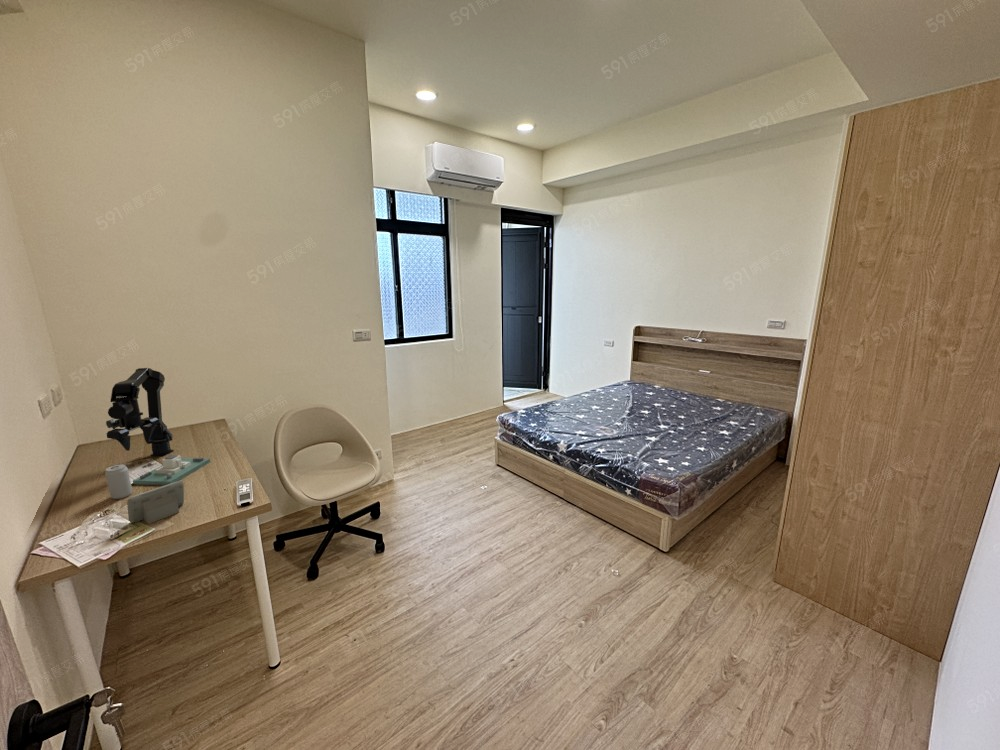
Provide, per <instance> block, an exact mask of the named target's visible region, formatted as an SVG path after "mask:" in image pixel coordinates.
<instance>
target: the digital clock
mask: <svg viewBox="0 0 1000 750" xmlns="http://www.w3.org/2000/svg"><path fill="white" fill-rule="evenodd" d="M126 501H127V503H126V505H127V515H128V522H129V521H130V522H129V523H131V522H135V523H137V521H138V522H140V520H141V521H145V522H146V521H147V522H148V523H150V524H153V523H155V521H156V522H158V521H160V519H161V520H162V519H165V518H168V517H171V516H173V515H175V514H178V513H180V510H179V507H180V506H182V505H183V504H184V502H185V482H184V481H183V480H179V481H177V482H174V483H171V484H168V485H161V486H159V487H156V488H153V489H151V490H147V491H145V492H142V493H137V494H136V495H133V496H130V497H129V498H128V499H127V500H126ZM143 519H144V520H143ZM157 520H158V521H157ZM147 522H146V523H147ZM152 522H153V523H152ZM148 523H147V524H148Z"/></svg>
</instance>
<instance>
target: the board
mask: <svg viewBox="0 0 1000 750" xmlns="http://www.w3.org/2000/svg"><path fill="white" fill-rule="evenodd" d="M181 460H182V466H183V468H182V469H180V467H178V468H176V469H164V467H163V464H162V465H160V466H158V467H156V468H155V469H153V470H151V471H148V472H145V473H144V474H141V475H140V476H139V477H137V478H135V479H133V480H132V484H133V485H143V486H145V485H151V486H153V485H156V486H159V485H160V486H165V485H168V484H171V483H174V482H177V481H182V479H184V478H186V477H187V476H189V475H190V474H192V473H194V472H196V471H197V470H199V469H201V468H203V467H204V466H206V465H207V464H210V463H211V458H204V457H191V458H190V457H189V458H188V457H181Z"/></svg>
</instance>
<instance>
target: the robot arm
mask: <svg viewBox="0 0 1000 750" xmlns="http://www.w3.org/2000/svg"><path fill="white" fill-rule="evenodd" d="M165 380H166V378H165V375H164V374H163V373H162V372H161V371H157V370H154V369H152V368H149V367H140V368H139V367H138V368H136V369H135V371H134V372H133V373H132V374H131V375H130V376H129V377H128V378H126V380H122V381H119V382H116V383H115V384H114V385H113V387H112V390H111V395H110V403H112V406H110V407H109V409H108V410H107V415H108V416H109V417H110V418H111V419H109V420H106V421H105V425H106V427H107V428H108V429H111V428H112V429H111V430H108V431H107V433H106V438H107V439H111V440H116V441H118V442H119V443H120V444H121V446H122V447H123V448H124V450H125V451H130V448H131V435H130V432H131V431H134V430H136V429H140V430H141V431H142V432H143V433H142V435H143V438H144V441H145V443H146V444H147V445H151V451H152V453H151V454H150V456H152V457H164V456H166V455H169V454H170V453H172V452H174V451H175V450H174V449H172V448H171V444H170V442H171V441H173V438H174V437H173V433H171V432H170V430H168V426H167V425H166V424H165V422H164V421H163V415H162V401H161V390H162V389H163V388H164V386H165V384H164V383H165ZM140 386H141V387H142V389H144V391H145V392H146V398H147V399H146V400H147V409H148V410H147V411H148V417H143V418H142V416H143V415H144V413H143V412H142V411H140V407H139V401H138V399H139V395H140V394H139V393H140V389H141V388H140Z"/></svg>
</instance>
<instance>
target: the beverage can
mask: <svg viewBox="0 0 1000 750" xmlns="http://www.w3.org/2000/svg"><path fill="white" fill-rule="evenodd" d="M104 475H105V481H106V483H107V489H108V493H109V496H110V498H111V499H115V500H120V499H123V498H124V499H125V498H126V497H129V496H131V494H132V493H133V492H134V491H133V488H132V482H131V477H130V473H129V468H128V467H127V465H125V464H116V465H112V466H109V467H107V468H106V469H105V472H104Z"/></svg>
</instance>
